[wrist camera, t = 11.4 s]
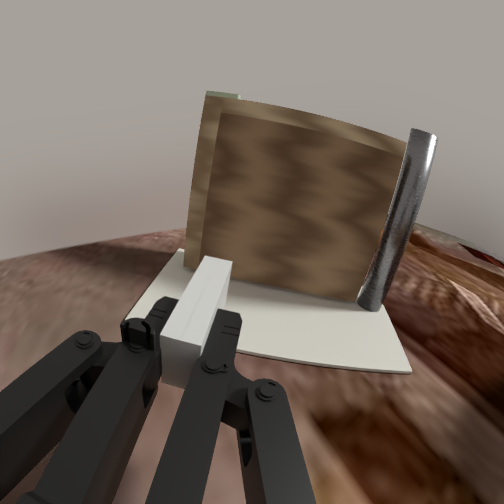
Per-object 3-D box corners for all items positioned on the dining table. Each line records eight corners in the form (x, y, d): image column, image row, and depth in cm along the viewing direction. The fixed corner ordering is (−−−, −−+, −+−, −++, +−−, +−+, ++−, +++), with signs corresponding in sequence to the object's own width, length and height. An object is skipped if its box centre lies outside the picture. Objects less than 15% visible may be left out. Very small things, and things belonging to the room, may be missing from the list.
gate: (352, 293, 30) (400, 141, 23) (355, 301, 28) (406, 142, 22) (187, 259, 30) (210, 97, 23) (183, 266, 29) (205, 95, 22)
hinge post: (375, 301, 31) (429, 137, 23) (381, 315, 28) (443, 139, 20) (353, 297, 31) (406, 128, 23) (359, 312, 28) (418, 128, 20)
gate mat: (374, 290, 33) (375, 288, 33) (410, 373, 20) (412, 371, 20) (178, 250, 33) (179, 248, 33) (124, 322, 21) (124, 319, 21)
